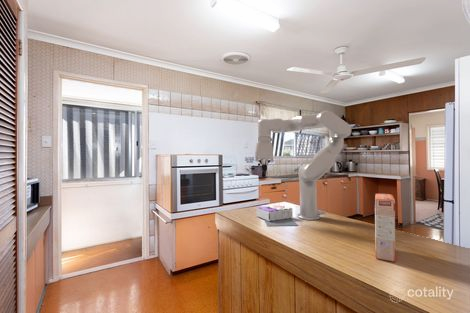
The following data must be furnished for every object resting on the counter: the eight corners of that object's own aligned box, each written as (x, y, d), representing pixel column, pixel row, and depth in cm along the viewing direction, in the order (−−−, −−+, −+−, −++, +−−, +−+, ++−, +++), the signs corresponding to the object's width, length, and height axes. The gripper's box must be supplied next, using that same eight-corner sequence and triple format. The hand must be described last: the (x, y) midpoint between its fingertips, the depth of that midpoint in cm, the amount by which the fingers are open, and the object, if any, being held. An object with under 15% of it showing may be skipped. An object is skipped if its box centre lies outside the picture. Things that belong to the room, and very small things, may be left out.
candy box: (256, 206, 139) (278, 204, 146) (256, 216, 139) (278, 213, 146) (268, 211, 126) (292, 207, 133) (269, 221, 126) (293, 218, 133)
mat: (287, 214, 144) (287, 214, 144) (298, 225, 120) (298, 225, 120) (261, 214, 143) (261, 214, 143) (267, 226, 119) (267, 225, 119)
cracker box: (396, 263, 76) (395, 199, 76) (375, 259, 79) (374, 198, 79) (394, 248, 88) (393, 193, 88) (375, 245, 91) (374, 192, 91)
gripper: (275, 141, 141) (275, 171, 141) (251, 140, 140) (250, 171, 140) (278, 140, 134) (278, 171, 133) (252, 139, 133) (252, 171, 133)
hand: (264, 171), depth 137 cm, fingers closed
